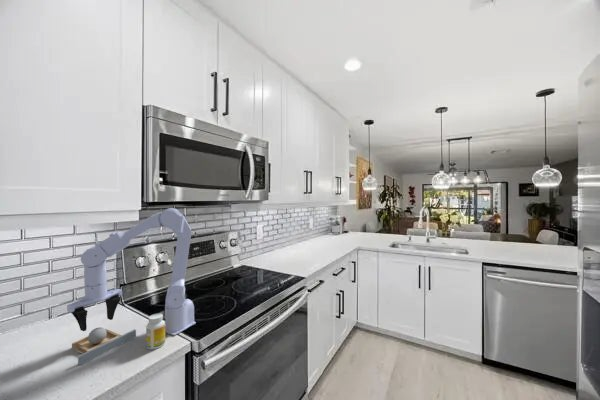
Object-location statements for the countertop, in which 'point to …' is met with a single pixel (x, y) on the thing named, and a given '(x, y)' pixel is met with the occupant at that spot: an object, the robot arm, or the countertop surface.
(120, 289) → the robot arm
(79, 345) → the wooden dish
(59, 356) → the countertop surface
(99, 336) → the ball
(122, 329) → the countertop surface
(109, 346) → the acrylic wall
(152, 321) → the supplement bottle
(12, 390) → the countertop surface
